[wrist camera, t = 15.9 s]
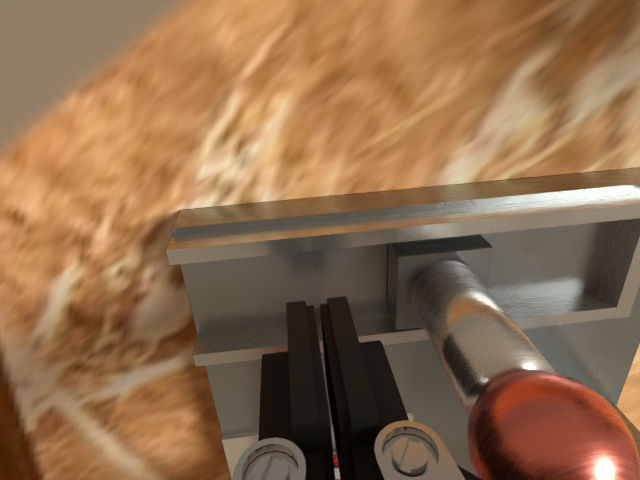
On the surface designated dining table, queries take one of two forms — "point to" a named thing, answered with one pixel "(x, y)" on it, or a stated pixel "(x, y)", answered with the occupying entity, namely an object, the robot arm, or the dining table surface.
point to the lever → (503, 372)
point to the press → (372, 284)
